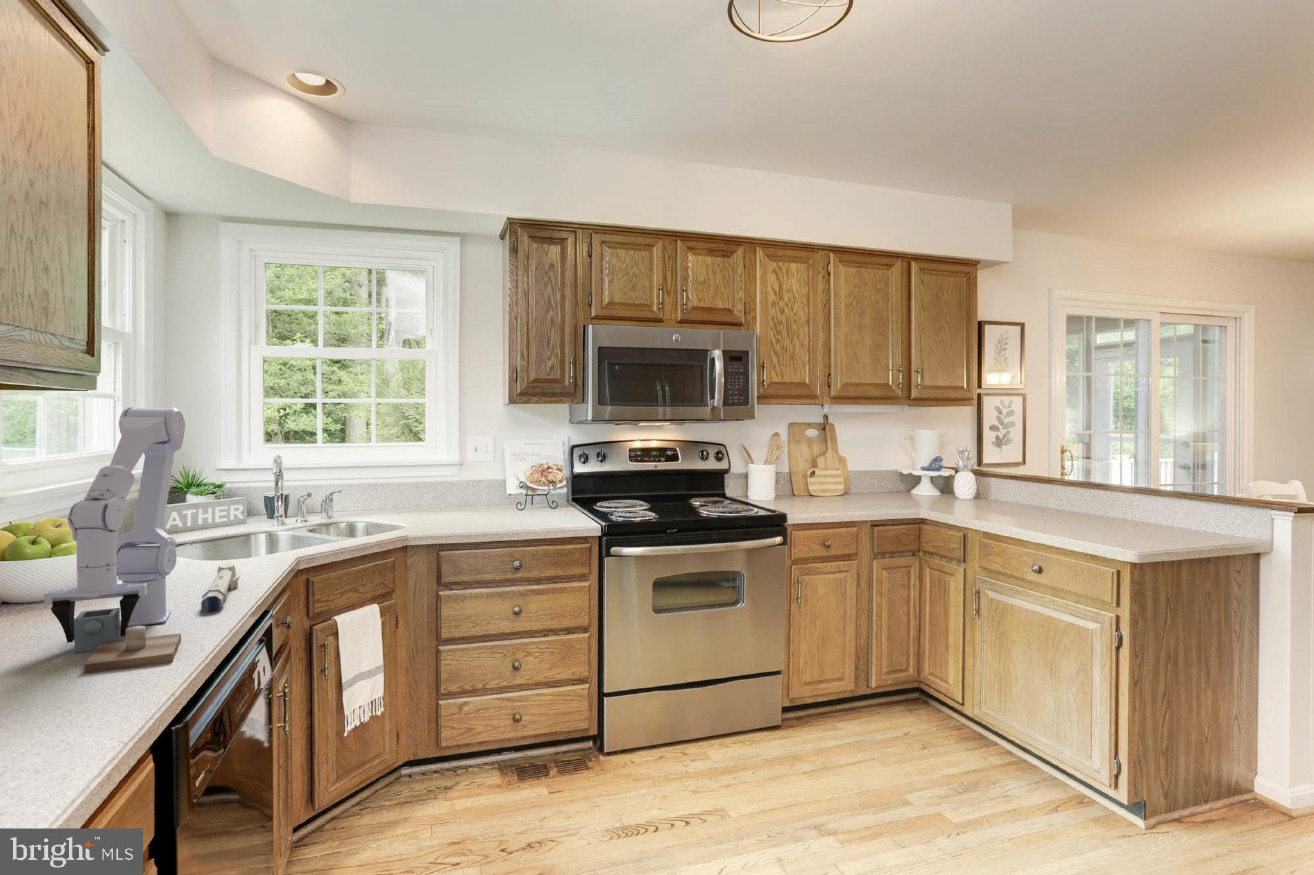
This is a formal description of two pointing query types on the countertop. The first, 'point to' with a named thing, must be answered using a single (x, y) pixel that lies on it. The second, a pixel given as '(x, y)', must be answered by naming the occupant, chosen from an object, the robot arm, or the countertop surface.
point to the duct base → (133, 651)
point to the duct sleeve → (96, 628)
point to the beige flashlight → (220, 587)
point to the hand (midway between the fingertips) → (97, 637)
